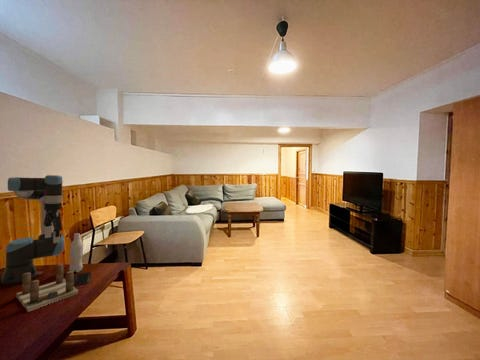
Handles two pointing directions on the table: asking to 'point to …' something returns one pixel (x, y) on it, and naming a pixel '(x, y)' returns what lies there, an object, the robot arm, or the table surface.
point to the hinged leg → (35, 292)
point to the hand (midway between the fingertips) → (52, 240)
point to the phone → (82, 278)
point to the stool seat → (48, 289)
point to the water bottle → (76, 253)
